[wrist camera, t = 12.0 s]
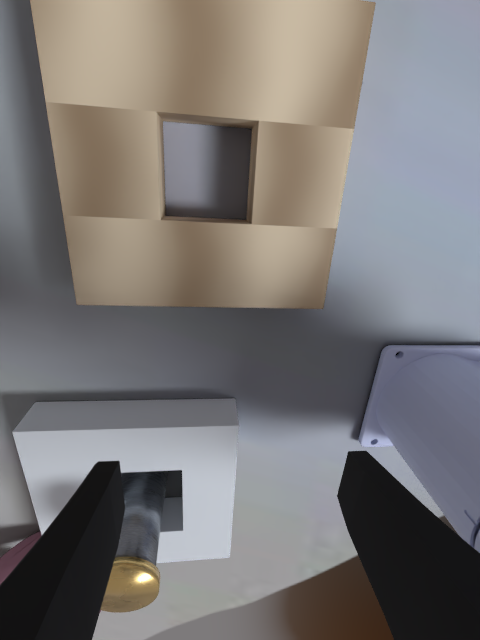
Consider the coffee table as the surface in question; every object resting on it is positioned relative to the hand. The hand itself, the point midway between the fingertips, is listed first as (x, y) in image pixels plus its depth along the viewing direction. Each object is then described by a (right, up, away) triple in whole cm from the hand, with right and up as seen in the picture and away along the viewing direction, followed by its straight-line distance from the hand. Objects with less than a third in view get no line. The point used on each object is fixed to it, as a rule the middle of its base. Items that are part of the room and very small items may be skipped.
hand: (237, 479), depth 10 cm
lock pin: (-7, -6, +12) cm, 15 cm away
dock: (-7, -5, +12) cm, 15 cm away
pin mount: (-1, +12, +5) cm, 13 cm away
